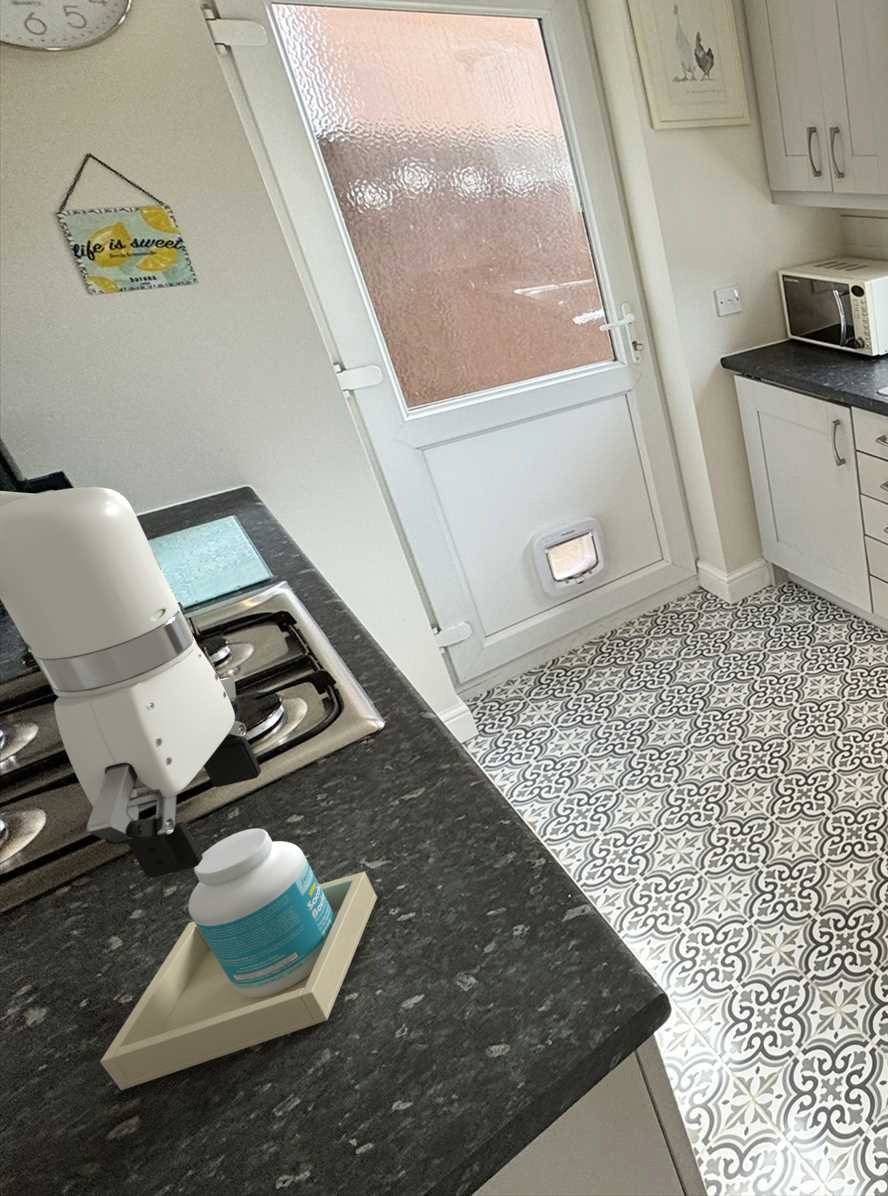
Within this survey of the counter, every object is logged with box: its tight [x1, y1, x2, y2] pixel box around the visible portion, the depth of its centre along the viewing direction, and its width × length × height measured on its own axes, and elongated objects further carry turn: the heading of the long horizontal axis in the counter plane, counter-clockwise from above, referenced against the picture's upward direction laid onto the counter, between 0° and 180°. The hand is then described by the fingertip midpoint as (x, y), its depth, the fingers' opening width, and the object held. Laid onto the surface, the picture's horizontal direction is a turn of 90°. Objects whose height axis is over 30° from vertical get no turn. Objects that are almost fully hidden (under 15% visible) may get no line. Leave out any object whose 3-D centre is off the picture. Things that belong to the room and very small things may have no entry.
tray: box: [100, 871, 378, 1091], centre depth 69 cm, size 14×13×4 cm
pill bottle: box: [187, 828, 336, 997], centre depth 68 cm, size 8×7×14 cm
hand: (209, 822), depth 64 cm, fingers open, 9 cm apart
